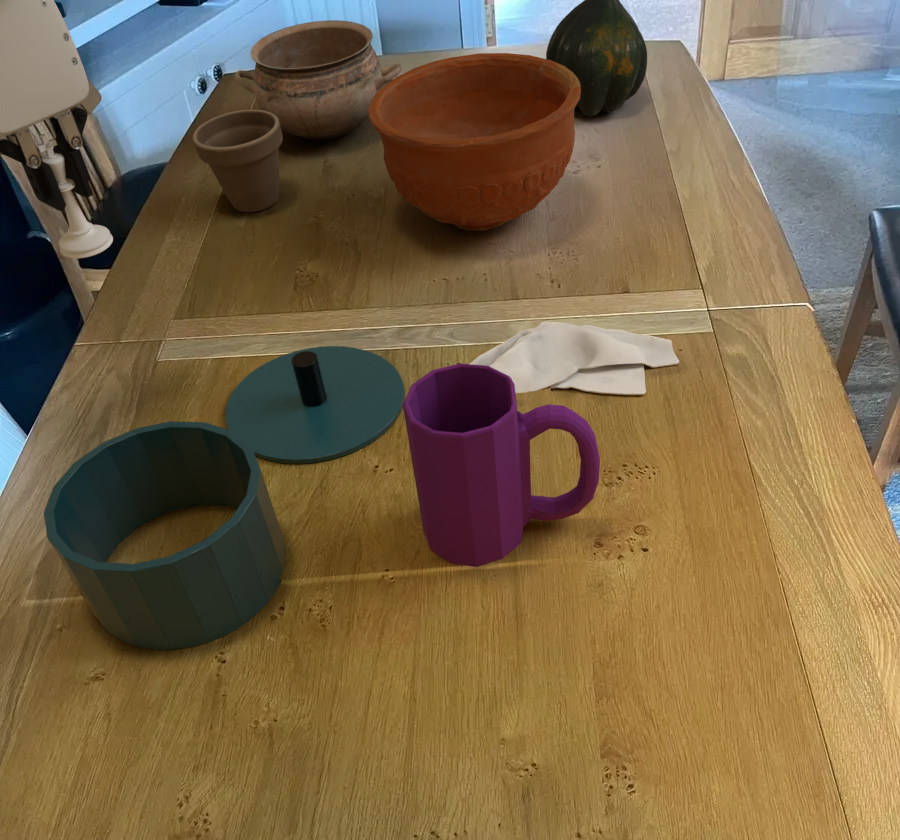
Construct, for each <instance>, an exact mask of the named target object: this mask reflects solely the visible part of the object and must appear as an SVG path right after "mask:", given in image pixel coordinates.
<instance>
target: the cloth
mask: <svg viewBox="0 0 900 840" xmlns="http://www.w3.org/2000/svg"><path fill="white" fill-rule="evenodd" d="M469 364H473V365H486V366H490V367H492V368H494V369H496V370H498V371H500V372H502V373H504V374H506V375H508V376H510V377H511V379H512V381H513V382H514V384H515V394H524V393H528V392H537V391H542V390H544V389H546V388H549V387H550V389H565V390H566V389H570V388H572V389H575V390H579V391H581V392H586V393H587V392H588V393H595V394H604V395H619V396H644V395H645V394H646V393H647V388H646V386H647V385H646V374H645V366H647V367H648V368H649V367H650V368H652V369H655V368H656V369H657V368H663V367H669V366H676V365H679V364H680V360H679V358H678V356H677V355H676V353H675V351H674V347H673V341H672V339H667V338H663V337H659V336H653V335H649V334H639V333H633V332H630V331H627V330H624V329H617V328H616V329H615V328H614V329H613V328H603V327H600V326H595V325H592V324H584V325H583V324H582V325H577V324H573V323H568V322H559V321H541V322H540V323H539V324H538V325H537V326H535V327H529V328H524V329H522V330H521V331H519V332H518V333H516V334H514V335H512V336H511V337H510V338H508V339H506V340H505V341H504V342H502V343H500V344H498V345H496V346H494V347H492V348H491V349H488V350H487V351H485V352H483V353H482V354H481V353H480V355H478V356H477V357H475V358H474V359H473V360H472V361H470V362H469Z"/></svg>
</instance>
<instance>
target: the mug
mask: <svg viewBox="0 0 900 840" xmlns="http://www.w3.org/2000/svg"><path fill="white" fill-rule="evenodd" d="M402 410H403V414H404V422H405V427H406V433H407V440H408V445H409V451H410V457H411V463H412V469H413V476H414V482H415V487H416V492H417V493H416V494H417V499H418V501H417V502H418V506H419V507H418V508H419V512H420V519H421V524H422V529H423V530H422V531H423V534H424V537H425V539H426V542H427V545H428V547H429V550H430V551H431V552H433V553H434V554H435V555H437V556H439V557H441V558H442V559H444V560H445V561H447V562H448V563H450V564H456V565H463V566H467V567H476V568H477V567H480V566H484V565H488V564H490V563H492V562H496V561H499V560H503V559H504V558H505V557H507V556H508V555H509V554H510V553H511V552H513V551H514V550H515V549H516V548H517V547H519V546H520V545H521V544H522V540H523V536H524V527H525V526H526V525H527V524H528V523H529V522H530V521H531V520H537V521H541V522H547V521H557V520H562V519H563V520H564V519H566V518H569V517H572V516H574V515H578V514H579V513H580V512H581V511H582V510H584V508H585V507H587V506H588V505H589V504H590V503H591V502H592V501H593V500H594V497H595V494H596V491H597V488H598V485H599V482H600V466H601V457H600V451H599V447H598V442H597V437H596V434H595V432H594V430H593V429H592V427H591V425H590V424H589V422H588V420H587V419H586V418H584V417H582V416H581V415H580V414H578V412H577V411H575V410H573V409H571V408H569V407H567V406H565V405H561V404H550V403H549V404H545V405H541V406H537V407H534V408H533V409H531V410H529V411H527V412H525V413H523V412H520V411H519V410H518V404H517V393H515V384H514V382H513V381H512V379H511V377H510V376H508V375H506V374H504V373H502V372H500V371H498V370H496V369H494V368H492V367H490V366H486V365H473V364H470V363H456V364H452V365H448V366H444V367H440V368H436V369H432V370H430V371H429V372H428V373H426V374H425V375H423V376H422V377H420V378H419V379H418V380H416V381H415V382H413V383H412V384H411V386H410V387H409V389H408V392H407V394H406V397H405V398H404V403H403V406H402ZM550 429H551V430H561V431H564V432H566V433H569V434H570V435H571V436H572V437H573V438H574V440H575V442H576V444H577V447H578V453H579V458H580V465H579V478H578V480H577V484H576V486H574V487H573V488H572V489H570V490H569V491H567V492H565V493H562V494H560V495H556V496H543V495H532V484H531V483H532V482H531V481H532V477H531V476H532V475H531V440H533V439H534V438H536V437H538V436H539V435H541V434H543V433H545V432H547V431H548V430H550Z"/></svg>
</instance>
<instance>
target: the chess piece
mask: <svg viewBox="0 0 900 840" xmlns="http://www.w3.org/2000/svg"><path fill="white" fill-rule="evenodd" d="M38 137H39V139H40V142H41V143H39V144H38V145H35V146H36V148H37V151H38V153H42V152H45V154H46V155H44V156H43V157H41V159H42V161H43V162H45V163H47V164H49V165H50V167H51V169H52V171H53V174H54V176H55V179H56V181H57V184H58V186H59V189H60V191H61V193H62V196H63V198H64V201H65V203H66V207H65V209H64V211H65V215H66V219H67V222H68V226H69V227H68V229H67V232H65V233H64V234H62V236H61V237H60V238H59V241H58V247H59V252H60V254H61V255H62V256H63V257H66V258H69V259H84V258H90V257H93V256H96V255H98V254H101V253H103V252H104V251H106V250H107V249H108V248H110V247H111V245H112V244H113V242H114V237H113V235H112V233H111V231H110V230H109V228H108V227H106V226H104V225H100V224H93V223H92V222H89V221H88V220H87V218H86V216H85V215H84V213H83V211H82V209H81V208H80V205H79V204H78V202H77V200H76V198H75V195H74V194H73V191H71V189H73V188H74V187H75V183H74V181H73V180H72V179H67V178H66V171H65V159H64V156H63V155H62V154H59V153H54V152H53V147H54V146H56V145H57V143H56V140H55V138H51V139H48V137H47V134H45V133H42V134H40V135H39V136H38Z"/></svg>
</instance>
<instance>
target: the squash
mask: <svg viewBox="0 0 900 840" xmlns="http://www.w3.org/2000/svg"><path fill="white" fill-rule="evenodd" d="M545 59H548V60H551V61H554V62H556V63H558V64H561V65H563V66H565V67H566V68H568V69H569V70H570V71H572V72H573V73H574V74H575V76H576V77H577V78H578V80H579V82H580V88H581V93H580V100H579V101H578V103H577V105H576V107H578V108H579V110H580V112H581V113H582V114H584V115H585V116H588V117H594V116H596V115H598V114H599V113H600V112H601V111H604V112H606V113H607V112H608V113H609V112H610V113H611V112H614V111H615V110H618V109H619V108H620V107H622V106H623V105H624V103H625V101H628V100H629V99H630V98H632V97H633V96H635V95H636V94H637V92H638V91H639V89H640V88H641V86H642V85H643V83H644V80H645V77H646V73H647V68H648V49H647V45H646V41H645V39H644V37H643V34H642V33H641V31H640V28H639V27H638V24H637V23H636V22H635V20H634V18H633V17H632V15H631V14H630V13H629V11H628V10H627V9H626V8H625V7H624V5H623V4H622V3H621V1H620V0H583V1H581V2H580V3H579V4H577V5H575V7H574V8H573V9H571V11H569V13H567V14H566V15H565V16H564V17H563V18H562V19H561V21H560V22H559V23H558V25H556V27H555V29H554V31H553V33H552V34H551V37H550V38H549V41H548V45H547V48H546V52H545Z"/></svg>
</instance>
